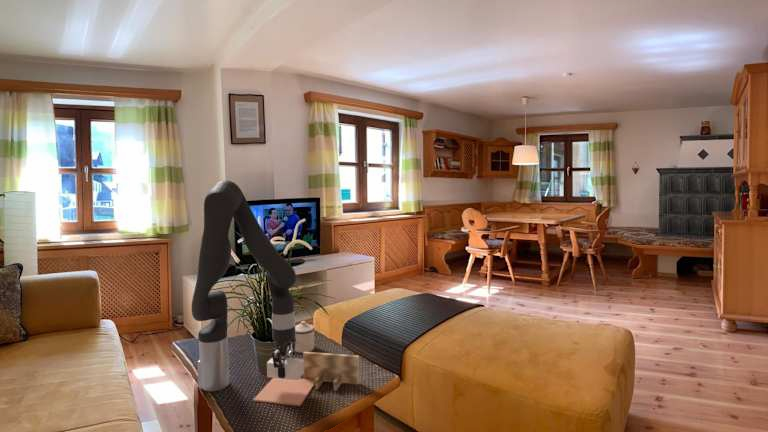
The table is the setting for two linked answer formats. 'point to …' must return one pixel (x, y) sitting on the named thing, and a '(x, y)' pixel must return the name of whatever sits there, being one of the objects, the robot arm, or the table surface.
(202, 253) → the robot arm
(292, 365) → the white block
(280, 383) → the terracotta tile
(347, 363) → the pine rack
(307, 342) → the teacup with lid
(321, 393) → the table surface
